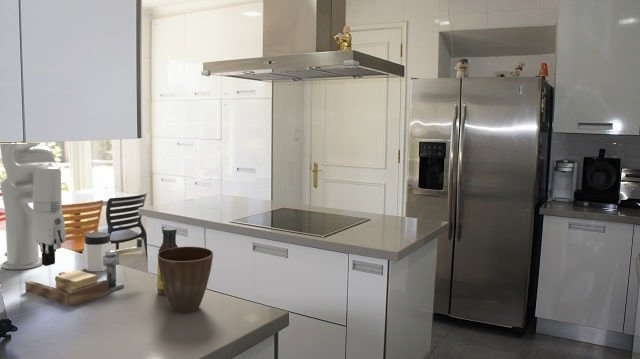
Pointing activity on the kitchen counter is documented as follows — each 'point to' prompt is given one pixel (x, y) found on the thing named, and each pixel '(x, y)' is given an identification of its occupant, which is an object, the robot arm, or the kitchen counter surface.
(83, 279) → the tan wooden block
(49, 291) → the bay
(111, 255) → the crank
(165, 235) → the sauce bottle
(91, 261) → the jar
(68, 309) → the kitchen counter surface
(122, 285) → the winch post
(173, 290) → the plant pot
